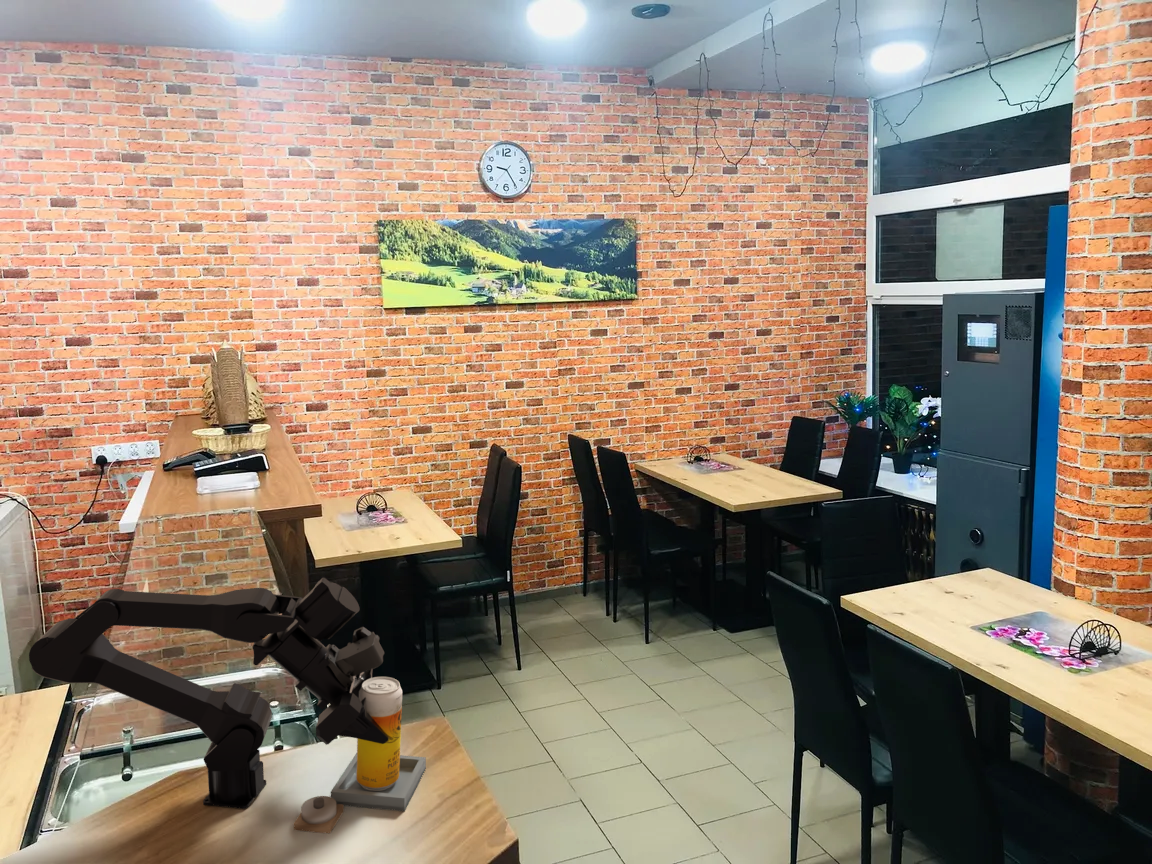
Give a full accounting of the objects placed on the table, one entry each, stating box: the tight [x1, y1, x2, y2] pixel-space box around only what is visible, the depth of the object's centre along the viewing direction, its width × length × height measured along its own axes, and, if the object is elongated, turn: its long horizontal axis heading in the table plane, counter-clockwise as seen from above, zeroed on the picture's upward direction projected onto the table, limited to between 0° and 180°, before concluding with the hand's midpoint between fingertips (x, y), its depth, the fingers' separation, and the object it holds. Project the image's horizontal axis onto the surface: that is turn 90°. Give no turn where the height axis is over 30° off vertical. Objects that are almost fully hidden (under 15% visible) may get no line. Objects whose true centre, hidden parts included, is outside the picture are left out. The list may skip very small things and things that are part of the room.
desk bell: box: [293, 795, 345, 834], centre depth 120 cm, size 5×5×3 cm
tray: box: [330, 752, 427, 812], centre depth 128 cm, size 11×11×2 cm
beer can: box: [356, 676, 403, 791], centre depth 127 cm, size 6×6×15 cm
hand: (388, 730), depth 127 cm, fingers closed on beer can, 6 cm apart
